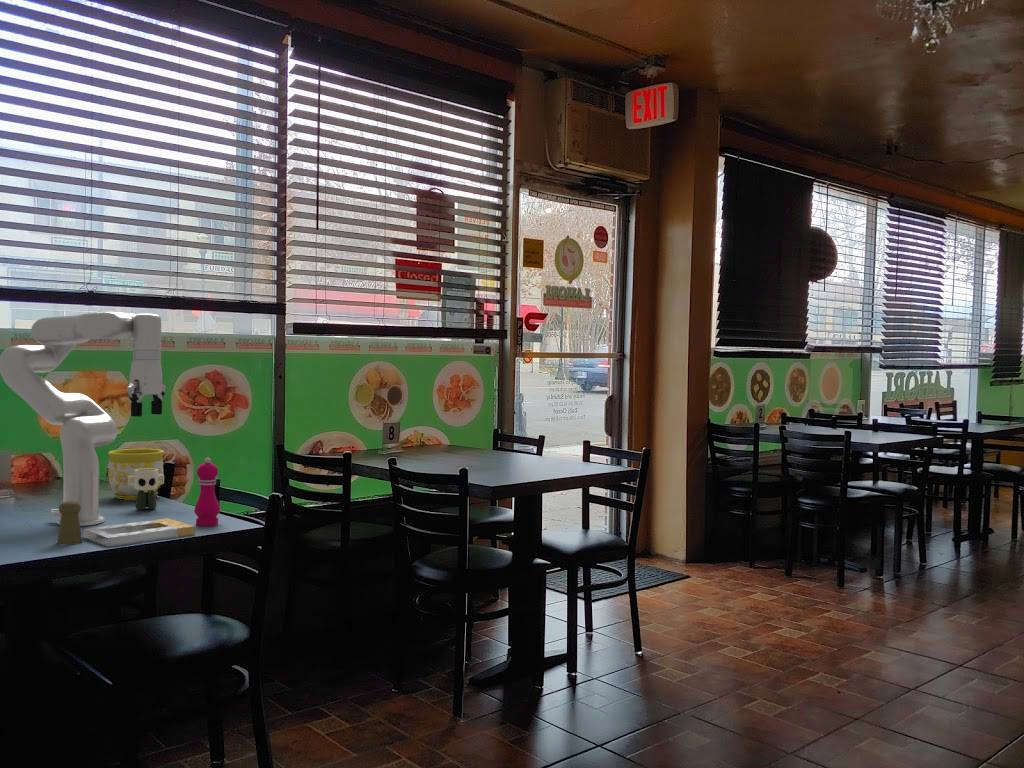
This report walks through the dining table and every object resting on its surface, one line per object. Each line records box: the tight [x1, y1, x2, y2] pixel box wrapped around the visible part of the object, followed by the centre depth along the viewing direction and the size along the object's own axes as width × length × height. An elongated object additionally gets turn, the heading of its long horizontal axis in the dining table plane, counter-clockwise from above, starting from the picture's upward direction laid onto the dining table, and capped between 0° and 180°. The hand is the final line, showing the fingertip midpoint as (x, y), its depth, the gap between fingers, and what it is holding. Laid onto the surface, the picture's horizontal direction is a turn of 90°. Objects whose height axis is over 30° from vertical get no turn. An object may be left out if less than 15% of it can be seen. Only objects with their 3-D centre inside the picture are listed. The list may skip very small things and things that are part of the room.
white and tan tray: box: [82, 518, 196, 548], centre depth 245 cm, size 24×16×2 cm, turn 137°
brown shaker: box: [56, 501, 83, 545], centre depth 235 cm, size 6×6×11 cm
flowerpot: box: [107, 448, 165, 501], centre depth 308 cm, size 18×18×16 cm
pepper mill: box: [194, 457, 221, 527], centre depth 263 cm, size 7×7×20 cm
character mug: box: [128, 468, 165, 510], centre depth 286 cm, size 11×7×13 cm, turn 118°
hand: (146, 415), depth 256 cm, fingers open, 9 cm apart
